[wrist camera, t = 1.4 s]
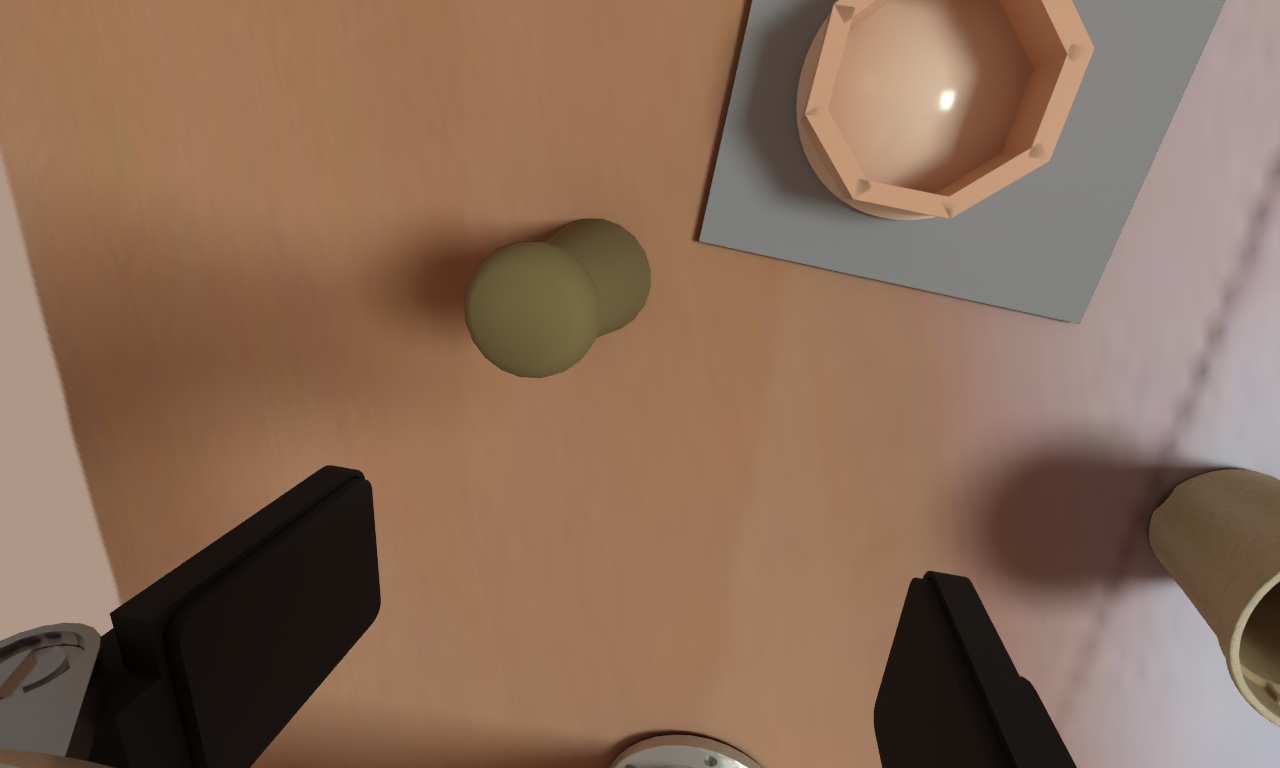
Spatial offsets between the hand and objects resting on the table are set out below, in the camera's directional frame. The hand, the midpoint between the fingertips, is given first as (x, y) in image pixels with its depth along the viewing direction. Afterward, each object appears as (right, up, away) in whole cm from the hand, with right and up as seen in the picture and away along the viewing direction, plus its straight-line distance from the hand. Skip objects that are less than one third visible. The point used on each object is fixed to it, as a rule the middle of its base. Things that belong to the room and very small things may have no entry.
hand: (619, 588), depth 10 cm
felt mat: (+13, +16, +16) cm, 27 cm away
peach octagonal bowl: (+12, +16, +16) cm, 26 cm away
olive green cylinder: (-2, +9, +22) cm, 24 cm away
